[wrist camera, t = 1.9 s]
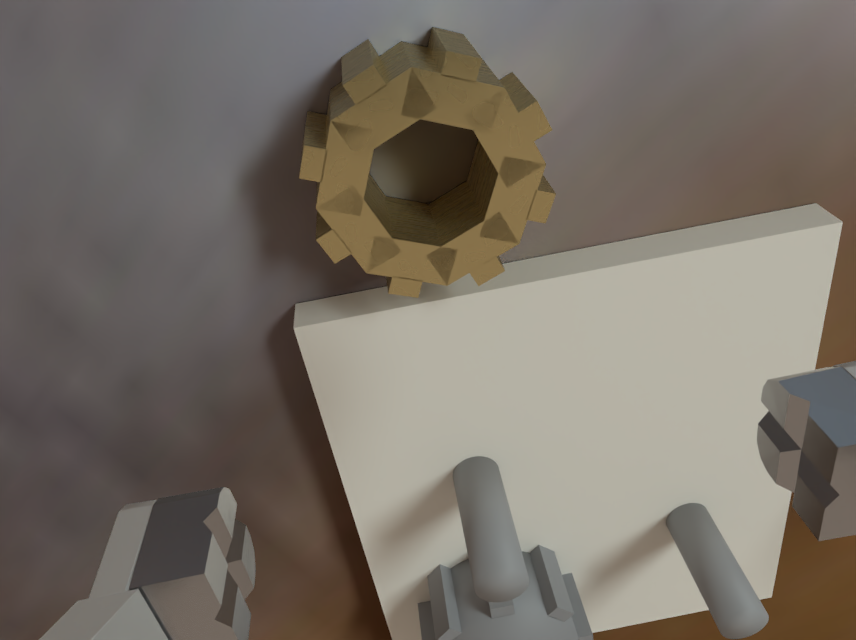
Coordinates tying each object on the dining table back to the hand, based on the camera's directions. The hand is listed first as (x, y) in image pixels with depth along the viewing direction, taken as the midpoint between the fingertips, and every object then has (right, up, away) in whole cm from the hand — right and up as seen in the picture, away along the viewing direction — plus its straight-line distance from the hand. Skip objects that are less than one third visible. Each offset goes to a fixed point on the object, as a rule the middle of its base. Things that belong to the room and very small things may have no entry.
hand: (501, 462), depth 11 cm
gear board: (+5, -4, +19) cm, 20 cm away
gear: (-1, +7, +11) cm, 13 cm away
